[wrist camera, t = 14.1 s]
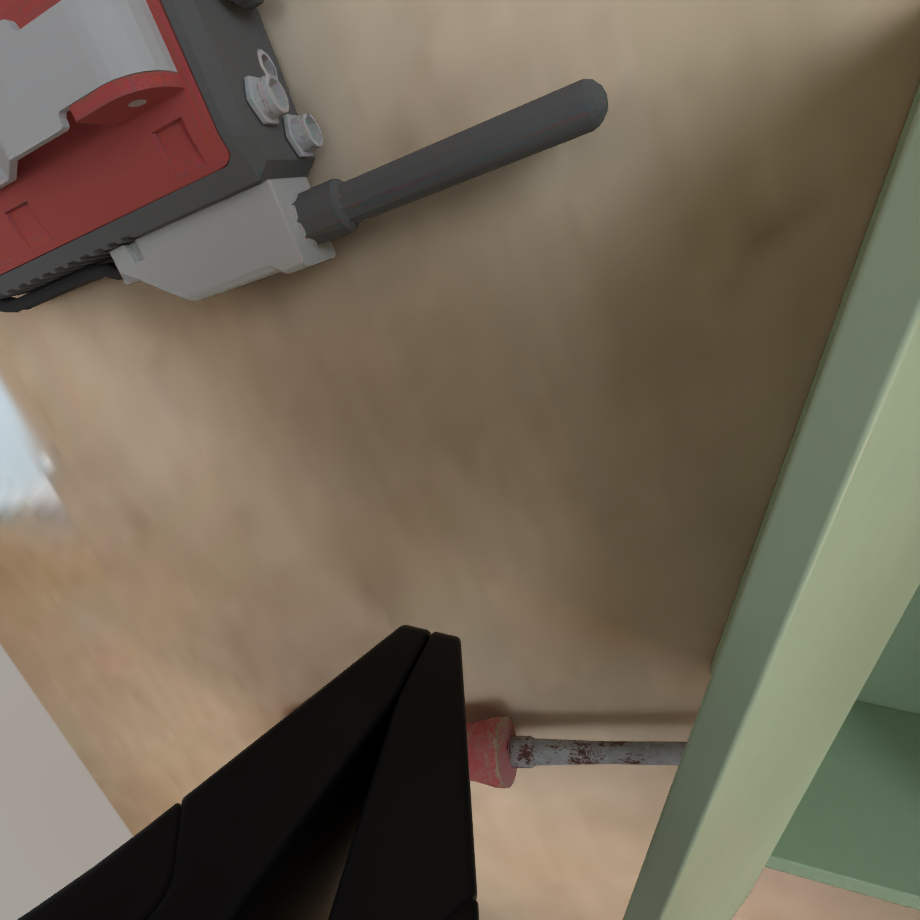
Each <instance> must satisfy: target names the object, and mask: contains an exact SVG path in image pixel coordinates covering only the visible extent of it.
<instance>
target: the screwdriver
mask: <svg viewBox="0 0 920 920" xmlns="http://www.w3.org/2000/svg"><path fill="white" fill-rule="evenodd" d="M466 729H467V745H468V760H469V776H470V781H476V782H479V783H482V784H486V785H489V786H492V787H496V788H510V787H511V786H512V784H513V782H514V780H515V776H516V770H517V768H532V767H534V766H536V765H580V764H640V765H679V763H680V761H681V758H682V755H683V752H684V750H685V747H686V744H687V742H630V741H583V740H559V739H535V738H533V737H532V736H516V734H515V730H514V726H513V724H512V721H511V720H510V719H509V718H508V717H493V718H489V719H485V720H482V721H478V722H472V723H466Z"/></svg>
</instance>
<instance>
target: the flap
mask: <svg viewBox="0 0 920 920" xmlns="http://www.w3.org/2000/svg"><path fill="white" fill-rule="evenodd" d="M919 584H920V102H919V105H918V108H917V110H916V113H915V116H914V119H913V121H912V124H911V127H910V130H909V132H908V135H907V138H906V141H905V143H904V146H903V149H902V152H901V154H900V157H899V160H898V163H897V165H896V168H895V171H894V174H893V176H892V179H891V182H890V185H889V187H888V190H887V193H886V196H885V198H884V201H883V204H882V207H881V209H880V212H879V215H878V218H877V220H876V223H875V226H874V229H873V231H872V234H871V237H870V240H869V243H868V245H867V248H866V251H865V254H864V256H863V259H862V262H861V265H860V267H859V270H858V273H857V276H856V278H855V281H854V284H853V287H852V289H851V292H850V295H849V298H848V300H847V303H846V306H845V309H844V311H843V314H842V317H841V320H840V322H839V325H838V328H837V331H836V333H835V336H834V339H833V342H832V344H831V347H830V350H829V353H828V355H827V358H826V361H825V364H824V367H823V369H822V372H821V375H820V378H819V380H818V383H817V386H816V389H815V391H814V394H813V397H812V400H811V402H810V405H809V408H808V411H807V413H806V416H805V419H804V422H803V424H802V427H801V430H800V433H799V435H798V438H797V441H796V444H795V446H794V449H793V452H792V455H791V457H790V460H789V463H788V466H787V468H786V471H785V474H784V477H783V479H782V482H781V485H780V488H779V491H778V493H777V496H776V499H775V502H774V504H773V507H772V510H771V513H770V515H769V518H768V521H767V524H766V526H765V529H764V532H763V535H762V537H761V540H760V543H759V546H758V548H757V551H756V554H755V557H754V559H753V562H752V565H751V568H750V570H749V573H748V576H747V579H746V581H745V584H744V587H743V590H742V592H741V595H740V598H739V601H738V603H737V606H736V609H735V612H734V614H733V617H732V620H731V623H730V626H729V628H728V631H727V634H726V637H725V639H724V642H723V645H722V648H721V650H720V653H719V656H718V659H717V661H716V664H715V667H714V670H713V672H712V675H711V678H710V681H709V683H708V686H707V689H706V692H705V694H704V697H703V700H702V703H701V705H700V708H699V711H698V714H697V716H696V719H695V722H694V725H693V727H692V730H691V733H690V736H689V738H688V741H687V744H686V747H685V750H684V752H683V755H682V758H681V761H680V763H679V766H678V769H677V772H676V774H675V777H674V780H673V783H672V785H671V788H670V791H669V794H668V796H667V799H666V802H665V805H664V807H663V810H662V813H661V816H660V818H659V821H658V824H657V827H656V829H655V832H654V835H653V838H652V840H651V843H650V846H649V849H648V851H647V854H646V857H645V860H644V862H643V865H642V868H641V871H640V873H639V876H638V879H637V882H636V885H635V887H634V890H633V893H632V896H631V898H630V901H629V904H628V907H627V909H626V912H625V915H624V918H623V920H731V919H732V917H733V916H734V914H735V913H736V912H737V910H738V909H739V908H740V906H741V905H742V904H743V902H744V901H745V899H746V898H747V897H748V895H749V894H750V892H751V890H752V888H753V887H754V885H755V883H756V881H757V879H758V877H759V876H760V874H761V872H762V870H763V868H764V866H765V865H766V863H767V861H768V859H769V857H770V856H771V854H772V852H773V850H774V848H775V846H776V845H777V843H778V841H779V839H780V837H781V835H782V834H783V832H784V830H785V828H786V826H787V825H788V823H789V821H790V819H791V817H792V815H793V814H794V812H795V810H796V808H797V806H798V804H799V803H800V801H801V799H802V797H803V795H804V794H805V792H806V790H807V788H808V786H809V784H810V783H811V781H812V779H813V777H814V775H815V773H816V772H817V770H818V768H819V766H820V764H821V763H822V761H823V759H824V757H825V755H826V753H827V752H828V750H829V748H830V746H831V744H832V742H833V741H834V739H835V737H836V735H837V733H838V732H839V730H840V728H841V726H842V724H843V722H844V721H845V719H846V717H847V715H848V713H849V711H850V710H851V708H852V706H853V704H854V702H855V701H856V699H857V697H858V695H859V693H860V691H861V690H862V688H863V686H864V684H865V682H866V680H867V679H868V677H869V675H870V673H871V671H872V670H873V668H874V666H875V664H876V662H877V660H878V659H879V657H880V655H881V653H882V651H883V649H884V648H885V646H886V644H887V642H888V640H889V639H890V637H891V635H892V633H893V631H894V629H895V628H896V626H897V624H898V622H899V620H900V618H901V617H902V615H903V613H904V611H905V609H906V608H907V606H908V604H909V602H910V600H911V598H912V597H913V595H914V593H915V591H916V589H917V587H918V586H919Z"/></svg>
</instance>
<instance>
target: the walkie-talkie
mask: <svg viewBox="0 0 920 920" xmlns="http://www.w3.org/2000/svg"><path fill="white" fill-rule="evenodd" d="M263 2H264V0H0V311H1V312H19V311H21V310H28V309H30V308H33V307H35V306H37V305H39V304H42V303H44V302H46V301H49V300H51V299H53V298H56V297H58V296H60V295H62V294H65V293H67V292H69V291H72V290H74V289H76V288H78V287H81V286H83V285H85V284H88V283H90V282H93V281H95V280H98V279H101V278H103V277H109V278H113V279H117V280H121V279H123V280H124V282H125V283H126V285H129V284H133V283H137V282H140V281H142V282H144V283H147V284H149V285H152V286H154V287H157V288H159V289H162V290H164V291H167V292H169V293H172V294H174V295H177V296H179V297H182V298H184V299H187V300H192V301H200V300H203V299H206V298H209V297H211V296H214V295H217V294H220V293H223V292H226V291H229V290H232V289H235V288H237V287H240V286H243V285H246V284H248V283H251V282H254V281H256V280H259V279H262V278H265V277H267V276H270V275H273V274H276V273H278V272H283V273H286V274H290V273H293V272H296V271H299V270H302V269H305V268H307V267H310V266H313V265H316V264H319V263H321V262H324V261H326V260H328V259H331V258H333V257H335V256H336V251H335V248H334V246H333V243H332V241H331V240H332V239H334V238H337V237H340V236H342V235H345V234H347V233H350V232H352V231H355V230H356V229H357V227H358V225H359V222H361V221H364V220H367V219H369V218H372V217H374V216H377V215H379V214H382V213H385V212H387V211H390V210H392V209H395V208H397V207H400V206H402V205H405V204H408V203H410V202H413V201H415V200H418V199H420V198H423V197H426V196H428V195H431V194H433V193H436V192H438V191H441V190H443V189H446V188H449V187H451V186H454V185H456V184H459V183H461V182H464V181H467V180H469V179H472V178H474V177H477V176H479V175H482V174H485V173H487V172H490V171H492V170H495V169H497V168H500V167H502V166H505V165H508V164H510V163H513V162H515V161H518V160H520V159H523V158H525V157H528V156H530V155H533V154H536V153H538V152H541V151H543V150H546V149H548V148H551V147H553V146H556V145H559V144H561V143H564V142H566V141H569V140H571V139H574V138H576V137H579V136H581V135H584V134H587V133H589V132H592V131H594V130H595V129H596V128H598V127H599V126H600V124H601V123H602V122H603V120H604V118H605V116H606V114H607V111H608V100H607V94H606V92H605V90H604V88H603V86H601V85H600V84H598V83H597V82H595V81H594V80H592V79H582V80H580V81H577V82H575V83H573V84H571V85H568V86H566V87H564V88H561V89H559V90H557V91H554V92H552V93H550V94H547V95H545V96H543V97H540V98H538V99H536V100H533V101H531V102H529V103H527V104H524V105H522V106H520V107H517V108H515V109H513V110H510V111H508V112H506V113H503V114H501V115H499V116H496V117H494V118H492V119H489V120H487V121H485V122H483V123H480V124H478V125H476V126H473V127H471V128H469V129H466V130H464V131H462V132H459V133H457V134H455V135H452V136H450V137H448V138H446V139H443V140H441V141H439V142H436V143H434V144H432V145H429V146H427V147H425V148H422V149H420V150H418V151H415V152H413V153H411V154H408V155H406V156H404V157H402V158H399V159H397V160H395V161H392V162H390V163H388V164H385V165H383V166H381V167H378V168H376V169H374V170H371V171H369V172H367V173H364V174H362V175H360V176H358V177H355V178H353V179H351V180H348V181H346V182H342V181H340V180H339V179H331V180H329V181H327V182H324V183H322V184H320V185H317V186H315V187H313V188H311V187H310V185H309V182H308V179H307V178H306V177H307V175H308V173H309V171H310V169H311V167H312V164H313V162H314V160H315V158H314V155H313V150H315V149H317V148H319V147H321V146H322V145H323V136H322V132H321V129H320V127H319V125H318V123H317V122H316V120H315V119H314V118H313V116H312V115H310V114H309V113H307V114H305V113H303V114H300V115H297V112H296V109H295V107H294V104H293V102H292V99H291V96H290V94H289V91H288V89H287V86H286V84H285V81H284V78H283V76H282V73H281V71H280V68H279V66H278V63H277V60H276V58H275V55H274V53H273V50H272V47H271V45H270V42H269V40H268V37H267V35H266V32H265V29H264V27H263V24H262V22H261V19H260V16H259V14H258V11H257V9H256V7H257V6H259V5H260V4H262V3H263ZM25 293H28V294H26V295H24V296H21V297H19V298H14V297H12V296H17V295H21V294H25Z"/></svg>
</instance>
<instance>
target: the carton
mask: <svg viewBox="0 0 920 920" xmlns="http://www.w3.org/2000/svg"><path fill="white" fill-rule="evenodd" d="M919 102H920V83H919V86H918V89H917V92H916V94H915V97H914V100H913V103H912V106H911V108H910V111H909V114H908V117H907V120H906V122H905V125H904V128H903V131H902V133H901V136H900V139H899V142H898V145H897V147H896V150H895V153H894V156H893V159H892V161H891V164H890V167H889V170H888V173H887V175H886V178H885V181H884V184H883V187H882V189H881V192H880V195H879V198H878V200H877V203H876V206H875V209H874V212H873V214H872V217H871V220H870V223H869V226H868V228H867V231H866V234H865V237H864V240H863V242H862V245H861V248H860V251H859V254H858V256H857V259H856V262H855V265H854V267H853V270H852V273H851V276H850V279H849V281H848V284H847V287H846V290H845V293H844V295H843V298H842V301H841V304H840V307H839V309H838V312H837V315H836V318H835V321H834V323H833V326H832V329H831V332H830V334H829V337H828V340H827V343H826V346H825V348H824V351H823V354H822V357H821V360H820V362H819V365H818V368H817V371H816V374H815V376H814V379H813V382H812V385H811V388H810V390H809V393H808V396H807V399H806V401H805V404H804V407H803V410H802V413H801V415H800V418H799V421H798V424H797V427H796V429H795V432H794V435H793V438H792V441H791V443H790V446H789V449H788V452H787V455H786V457H785V460H784V463H783V466H782V468H781V471H780V474H779V477H778V480H777V482H776V485H775V488H774V491H773V494H772V496H771V499H770V502H769V505H768V508H767V510H766V513H765V516H764V519H763V522H762V524H761V527H760V530H759V533H758V535H757V538H756V541H755V544H754V547H753V549H752V552H751V555H750V558H749V561H748V563H747V566H746V569H745V572H744V575H743V577H742V580H741V583H740V586H739V589H738V591H737V594H736V597H735V600H734V602H733V605H732V608H731V611H730V614H729V616H728V619H727V622H726V625H725V628H724V630H723V633H722V636H721V639H720V642H719V644H718V647H717V650H716V653H715V656H714V658H713V661H712V664H711V667H710V671H711V675H712V672H713V670H714V667H715V664H716V661H717V659H718V656H719V653H720V650H721V648H722V645H723V642H724V639H725V637H726V634H727V631H728V628H729V626H730V623H731V620H732V617H733V614H734V612H735V609H736V606H737V603H738V601H739V598H740V595H741V592H742V590H743V587H744V584H745V581H746V579H747V576H748V573H749V570H750V568H751V565H752V562H753V559H754V557H755V554H756V551H757V548H758V546H759V543H760V540H761V537H762V535H763V532H764V529H765V526H766V524H767V521H768V518H769V515H770V513H771V510H772V507H773V504H774V502H775V499H776V496H777V493H778V491H779V488H780V485H781V482H782V479H783V477H784V474H785V471H786V468H787V466H788V463H789V460H790V457H791V455H792V452H793V449H794V446H795V444H796V441H797V438H798V435H799V433H800V430H801V427H802V424H803V422H804V419H805V416H806V413H807V411H808V408H809V405H810V402H811V400H812V397H813V394H814V391H815V389H816V386H817V383H818V380H819V378H820V375H821V372H822V369H823V367H824V364H825V361H826V358H827V355H828V353H829V350H830V347H831V344H832V342H833V339H834V336H835V333H836V331H837V328H838V325H839V322H840V320H841V317H842V314H843V311H844V309H845V306H846V303H847V300H848V298H849V295H850V292H851V289H852V287H853V284H854V281H855V278H856V276H857V273H858V270H859V267H860V265H861V262H862V259H863V256H864V254H865V251H866V248H867V245H868V243H869V240H870V237H871V234H872V231H873V229H874V226H875V223H876V220H877V218H878V215H879V212H880V209H881V207H882V204H883V201H884V198H885V196H886V193H887V190H888V187H889V185H890V182H891V179H892V176H893V174H894V171H895V168H896V165H897V163H898V160H899V157H900V154H901V152H902V149H903V146H904V143H905V141H906V138H907V135H908V132H909V130H910V127H911V124H912V121H913V119H914V116H915V113H916V110H917V108H918V105H919ZM764 867H768V868H772V869H775V870H779V871H782V872H786V873H789V874H793V875H796V876H800V877H804V878H807V879H811V880H814V881H818V882H821V883H825V884H828V885H832V886H836V887H839V888H843V889H846V890H850V891H853V892H857V893H860V894H864V895H867V896H871V897H875V898H878V899H882V900H885V901H889V902H892V903H896V904H899V905H903V906H907V907H910V908H914V909H917V910H920V584H919V586H918V587H917V589H916V591H915V593H914V595H913V597H912V598H911V600H910V602H909V604H908V606H907V608H906V609H905V611H904V613H903V615H902V617H901V618H900V620H899V622H898V624H897V626H896V628H895V629H894V631H893V633H892V635H891V637H890V639H889V640H888V642H887V644H886V646H885V648H884V649H883V651H882V653H881V655H880V657H879V659H878V660H877V662H876V664H875V666H874V668H873V670H872V671H871V673H870V675H869V677H868V679H867V680H866V682H865V684H864V686H863V688H862V690H861V691H860V693H859V695H858V697H857V699H856V701H855V702H854V704H853V706H852V708H851V710H850V711H849V713H848V715H847V717H846V719H845V721H844V722H843V724H842V726H841V728H840V730H839V732H838V733H837V735H836V737H835V739H834V741H833V742H832V744H831V746H830V748H829V750H828V752H827V753H826V755H825V757H824V759H823V761H822V763H821V764H820V766H819V768H818V770H817V772H816V773H815V775H814V777H813V779H812V781H811V783H810V784H809V786H808V788H807V790H806V792H805V794H804V795H803V797H802V799H801V801H800V803H799V804H798V806H797V808H796V810H795V812H794V814H793V815H792V817H791V819H790V821H789V823H788V825H787V826H786V828H785V830H784V832H783V834H782V835H781V837H780V839H779V841H778V843H777V845H776V846H775V848H774V850H773V852H772V854H771V856H770V857H769V859H768V861H767V863H766V865H765V866H764Z"/></svg>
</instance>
